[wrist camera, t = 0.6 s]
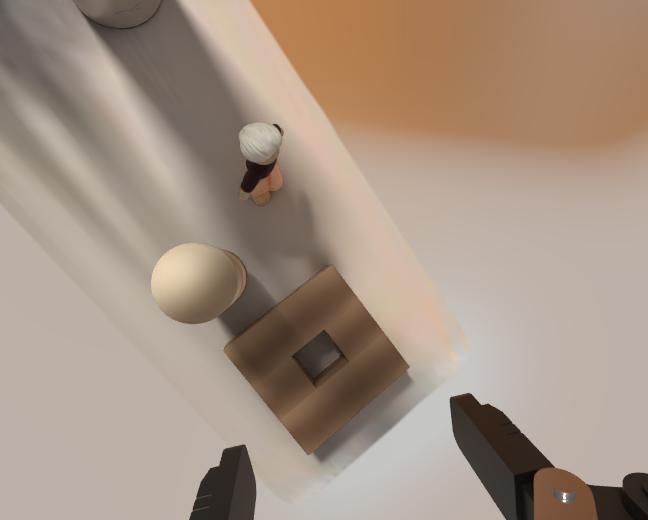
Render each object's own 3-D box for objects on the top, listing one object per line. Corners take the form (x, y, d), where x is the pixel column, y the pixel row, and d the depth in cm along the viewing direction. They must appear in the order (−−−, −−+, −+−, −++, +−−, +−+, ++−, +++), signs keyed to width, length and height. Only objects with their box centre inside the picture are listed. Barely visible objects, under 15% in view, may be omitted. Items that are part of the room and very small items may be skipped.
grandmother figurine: (272, 218, 36) (273, 193, 24) (238, 208, 36) (220, 176, 23) (291, 153, 37) (301, 95, 24) (258, 142, 36) (251, 76, 24)
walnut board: (227, 343, 35) (222, 350, 32) (327, 264, 37) (332, 264, 34) (305, 440, 36) (308, 455, 33) (399, 359, 38) (409, 366, 35)
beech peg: (184, 272, 35) (132, 275, 22) (228, 240, 35) (202, 225, 22) (217, 314, 35) (186, 341, 22) (260, 281, 36) (253, 290, 23)
